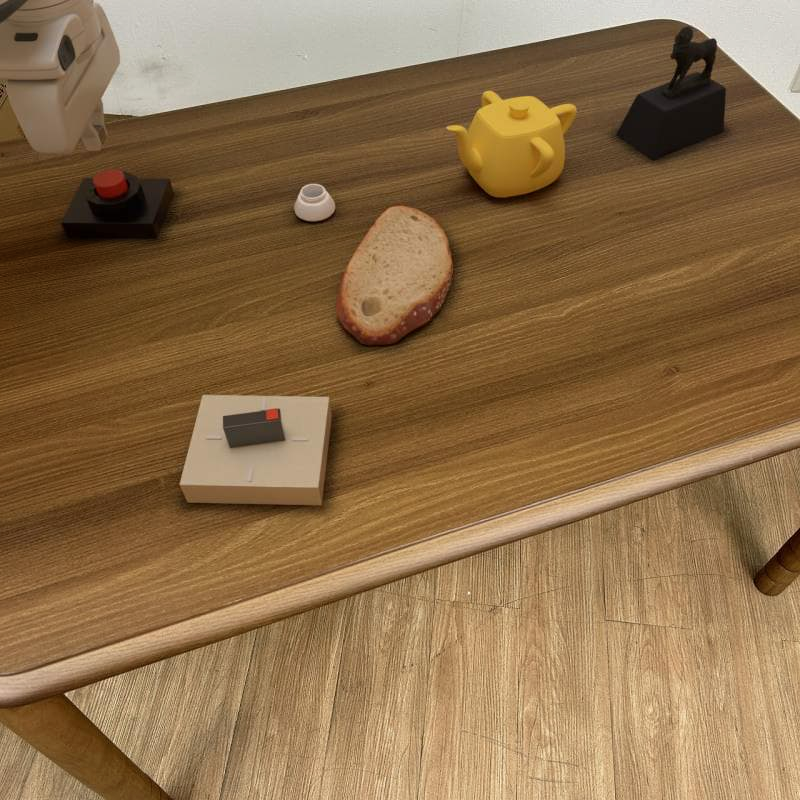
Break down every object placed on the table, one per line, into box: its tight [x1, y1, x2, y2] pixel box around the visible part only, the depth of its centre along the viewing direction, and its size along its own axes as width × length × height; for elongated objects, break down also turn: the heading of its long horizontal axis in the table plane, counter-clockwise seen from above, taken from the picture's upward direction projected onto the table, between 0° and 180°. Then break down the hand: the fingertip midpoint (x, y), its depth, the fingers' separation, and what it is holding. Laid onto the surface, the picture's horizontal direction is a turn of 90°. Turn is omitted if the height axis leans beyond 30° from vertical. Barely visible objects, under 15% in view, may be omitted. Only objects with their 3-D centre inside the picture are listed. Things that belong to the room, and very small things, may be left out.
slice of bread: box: [335, 205, 454, 346], centre depth 83 cm, size 18×18×4 cm
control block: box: [60, 171, 175, 239], centre depth 91 cm, size 11×9×4 cm
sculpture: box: [615, 26, 727, 161], centre depth 96 cm, size 8×13×15 cm, turn 119°
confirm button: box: [93, 169, 128, 198], centre depth 89 cm, size 4×4×2 cm
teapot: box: [445, 90, 578, 198], centre depth 92 cm, size 14×13×10 cm
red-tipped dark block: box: [223, 408, 285, 448], centre depth 65 cm, size 5×1×3 cm, turn 99°
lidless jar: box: [293, 183, 336, 222], centre depth 91 cm, size 5×3×5 cm
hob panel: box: [179, 394, 333, 506], centre depth 68 cm, size 12×10×3 cm
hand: (97, 143), depth 85 cm, fingers closed
